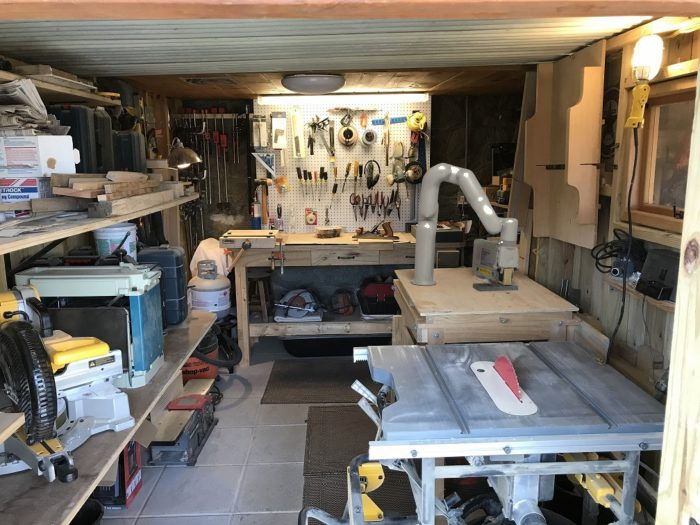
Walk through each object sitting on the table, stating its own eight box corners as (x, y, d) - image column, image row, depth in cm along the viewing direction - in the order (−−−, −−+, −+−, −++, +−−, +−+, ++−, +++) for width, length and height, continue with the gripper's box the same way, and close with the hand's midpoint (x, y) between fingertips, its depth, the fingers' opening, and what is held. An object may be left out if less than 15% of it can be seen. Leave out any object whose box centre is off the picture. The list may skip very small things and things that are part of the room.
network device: (510, 285, 273) (514, 246, 269) (496, 286, 270) (499, 246, 266) (480, 274, 297) (483, 238, 293) (467, 275, 293) (469, 238, 289)
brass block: (499, 283, 268) (500, 267, 266) (506, 282, 269) (507, 266, 267) (503, 284, 264) (504, 268, 263) (510, 284, 265) (512, 268, 263)
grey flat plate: (472, 287, 268) (472, 283, 267) (509, 286, 272) (510, 282, 272) (479, 291, 260) (480, 287, 260) (517, 290, 264) (518, 286, 264)
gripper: (495, 245, 257) (493, 283, 261) (527, 244, 261) (524, 282, 265) (488, 242, 264) (485, 279, 268) (519, 242, 268) (516, 278, 272)
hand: (505, 280), depth 266 cm, fingers closed on brass block, 4 cm apart
